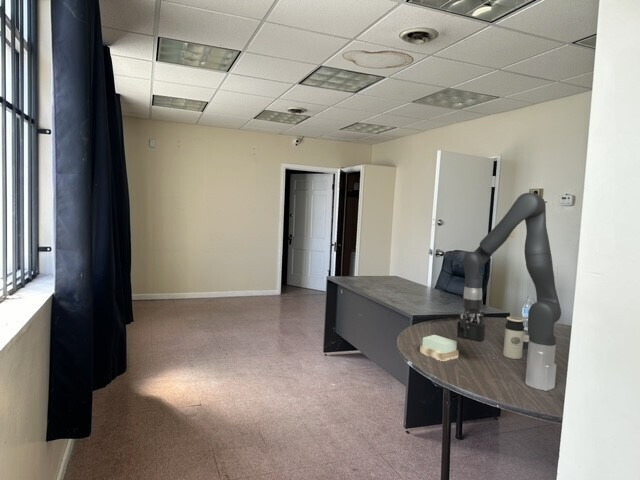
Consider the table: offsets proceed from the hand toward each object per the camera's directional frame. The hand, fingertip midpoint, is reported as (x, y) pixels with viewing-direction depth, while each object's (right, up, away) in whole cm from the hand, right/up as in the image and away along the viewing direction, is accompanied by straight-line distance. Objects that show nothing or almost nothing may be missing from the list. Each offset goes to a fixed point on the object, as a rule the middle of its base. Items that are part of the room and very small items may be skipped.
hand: (470, 335), depth 182 cm
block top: (-11, -8, +11) cm, 17 cm away
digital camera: (0, -1, 0) cm, 1 cm away
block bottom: (-11, -12, +11) cm, 20 cm away
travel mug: (+24, -13, +14) cm, 31 cm away
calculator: (+38, -12, +35) cm, 53 cm away
